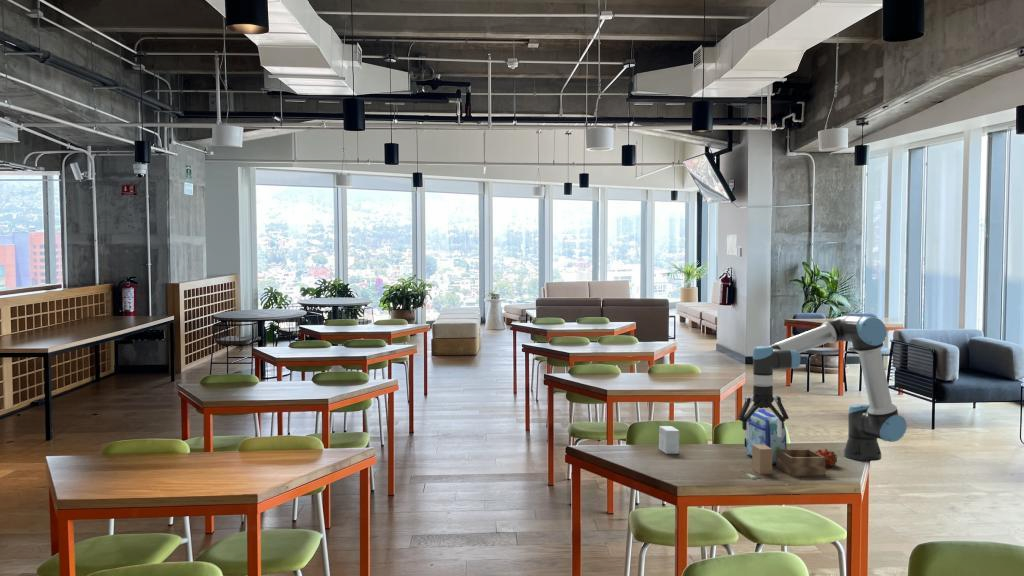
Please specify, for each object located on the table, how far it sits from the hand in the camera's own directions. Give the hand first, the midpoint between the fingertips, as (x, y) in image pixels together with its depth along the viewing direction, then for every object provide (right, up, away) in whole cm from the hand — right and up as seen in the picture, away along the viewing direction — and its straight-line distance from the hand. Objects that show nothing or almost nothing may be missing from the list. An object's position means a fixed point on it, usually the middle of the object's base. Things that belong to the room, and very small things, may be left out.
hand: (763, 437), depth 319 cm
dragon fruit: (+28, -15, +10) cm, 33 cm away
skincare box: (-30, -14, +38) cm, 51 cm away
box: (+16, -15, +2) cm, 21 cm away
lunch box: (+8, -14, +23) cm, 28 cm away
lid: (0, -15, 0) cm, 15 cm away
